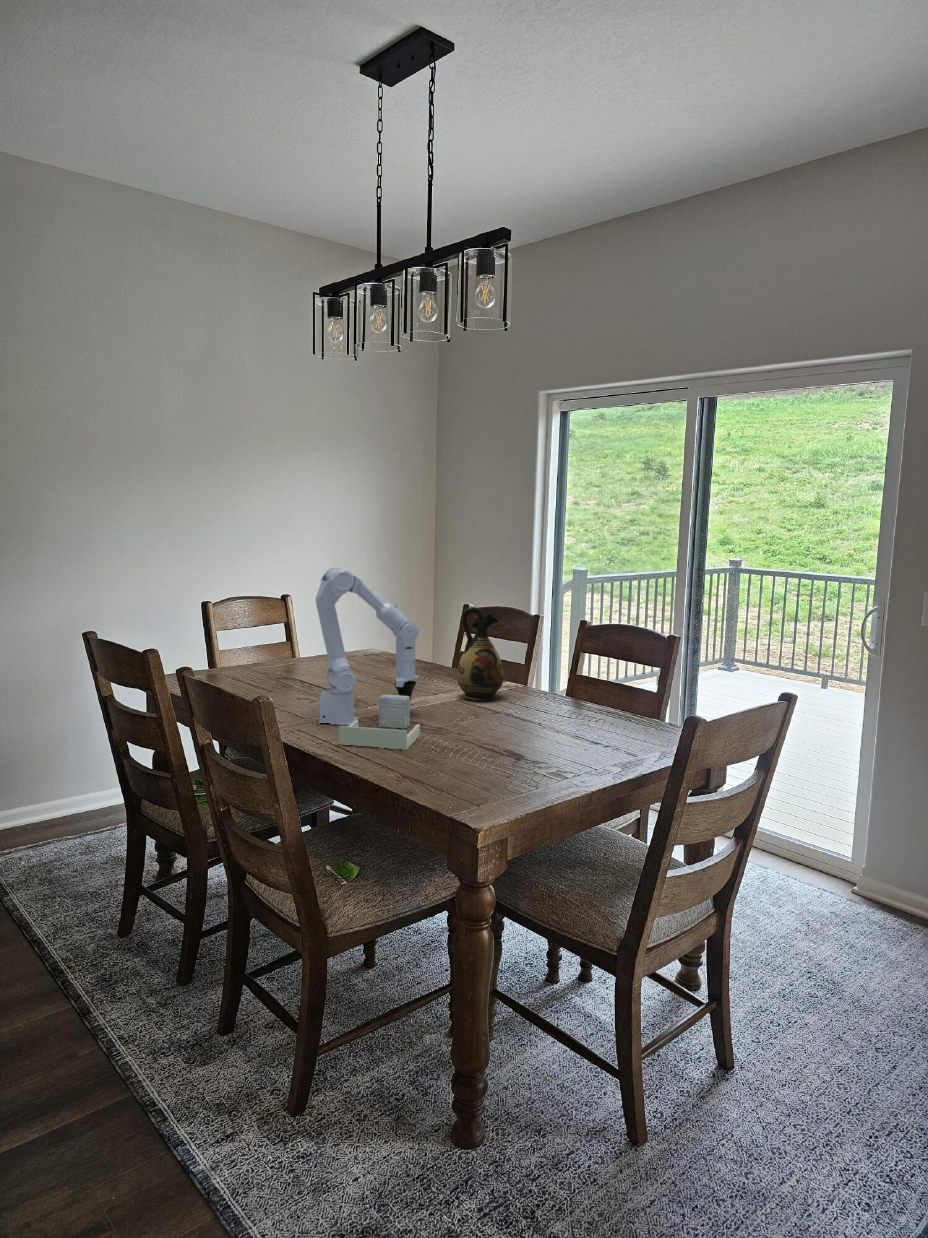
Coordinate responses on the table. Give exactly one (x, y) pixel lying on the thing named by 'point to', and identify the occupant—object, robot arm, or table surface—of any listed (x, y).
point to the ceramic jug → (480, 660)
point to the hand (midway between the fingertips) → (405, 706)
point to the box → (377, 736)
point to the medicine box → (394, 711)
